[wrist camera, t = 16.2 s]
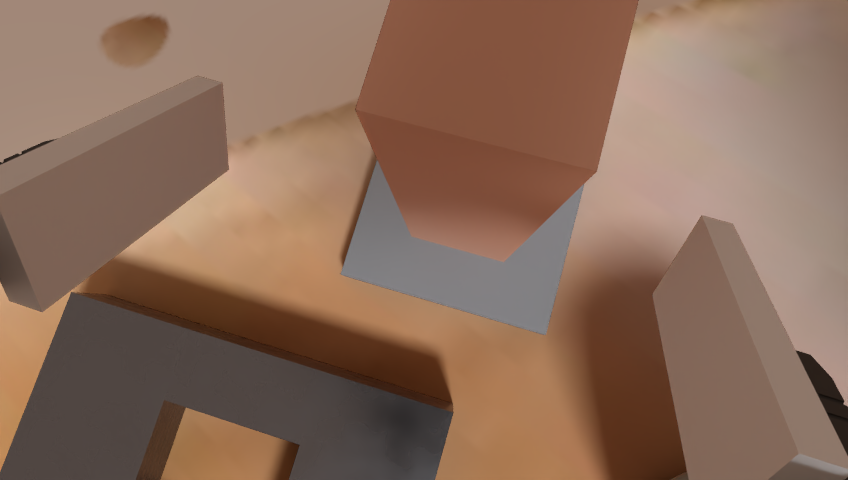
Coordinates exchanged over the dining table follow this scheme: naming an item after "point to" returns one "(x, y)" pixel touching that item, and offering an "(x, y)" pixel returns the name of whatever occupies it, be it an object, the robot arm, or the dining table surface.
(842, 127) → the dining table surface
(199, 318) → the dining table surface
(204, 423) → the dining table surface
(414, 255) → the pad
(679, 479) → the cup
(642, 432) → the dining table surface
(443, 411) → the socket block
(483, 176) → the peg
